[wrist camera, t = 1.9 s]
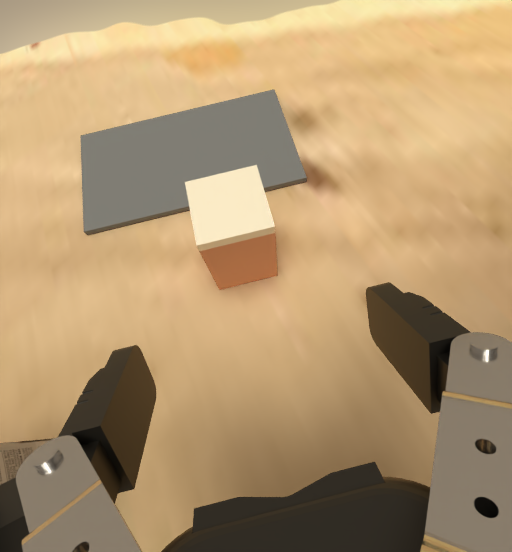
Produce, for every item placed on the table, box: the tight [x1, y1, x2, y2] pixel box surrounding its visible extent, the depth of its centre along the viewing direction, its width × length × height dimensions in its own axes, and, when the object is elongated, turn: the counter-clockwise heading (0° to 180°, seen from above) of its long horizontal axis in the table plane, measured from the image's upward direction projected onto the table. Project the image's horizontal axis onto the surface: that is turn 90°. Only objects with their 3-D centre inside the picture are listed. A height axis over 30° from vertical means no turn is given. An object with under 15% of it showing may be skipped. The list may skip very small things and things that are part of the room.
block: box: [185, 165, 277, 290], centre depth 25 cm, size 5×5×8 cm
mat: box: [81, 90, 307, 235], centre depth 33 cm, size 21×12×1 cm, turn 103°
